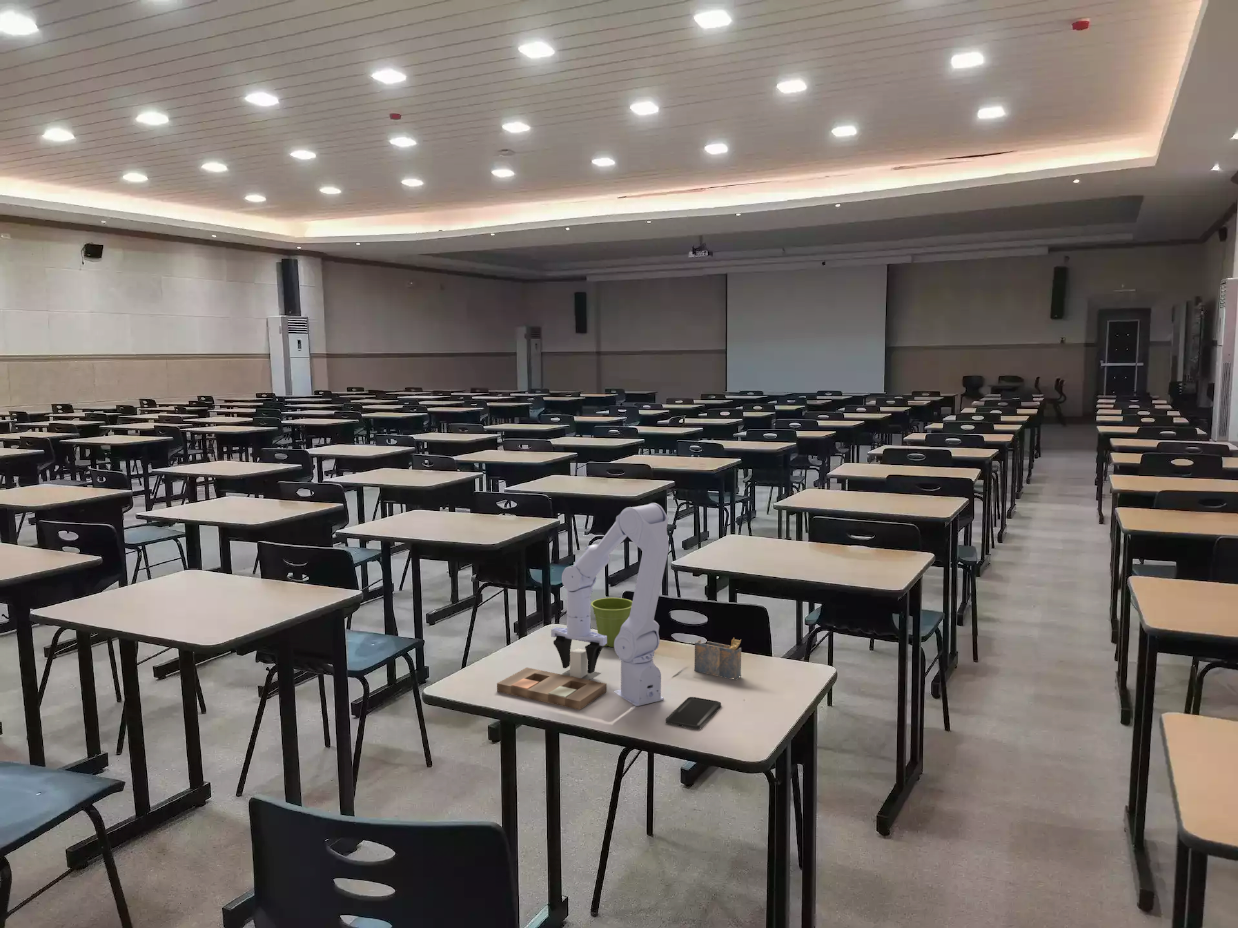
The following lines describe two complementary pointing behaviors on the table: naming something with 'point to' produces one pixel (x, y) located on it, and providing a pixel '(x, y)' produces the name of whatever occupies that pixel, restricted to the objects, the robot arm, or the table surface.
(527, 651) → the table surface
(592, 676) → the grey square plate
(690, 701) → the phone
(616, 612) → the plant pot
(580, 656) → the plug
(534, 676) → the socket block
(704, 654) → the weathered storage box
